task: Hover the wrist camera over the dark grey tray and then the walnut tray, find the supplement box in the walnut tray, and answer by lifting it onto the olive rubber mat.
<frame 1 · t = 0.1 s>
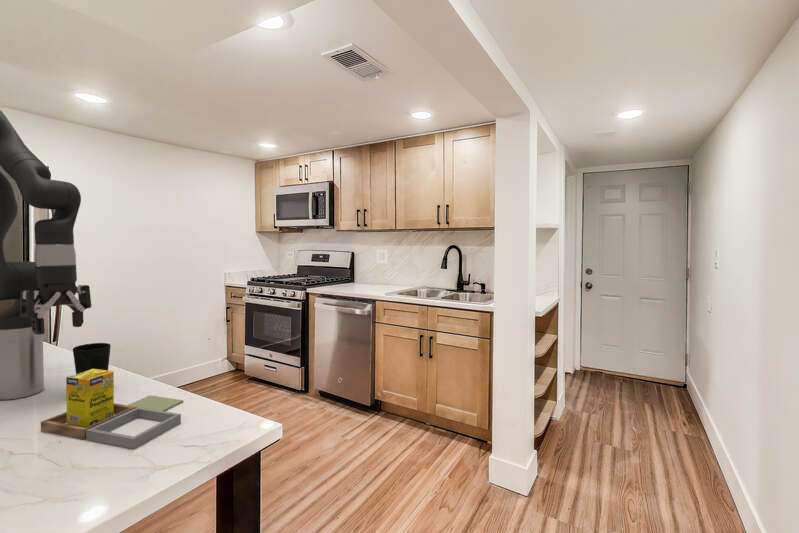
hand: (59, 330, 96), 17 cm above the counter, tool pointing down, fingers open, 8 cm apart
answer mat: (152, 406, 95), on the counter
grey tray: (136, 431, 83), on the counter
cup: (92, 393, 102), on the counter
supplement box: (91, 424, 85), resting in walnut tray
walnut tray: (91, 422, 85), on the counter
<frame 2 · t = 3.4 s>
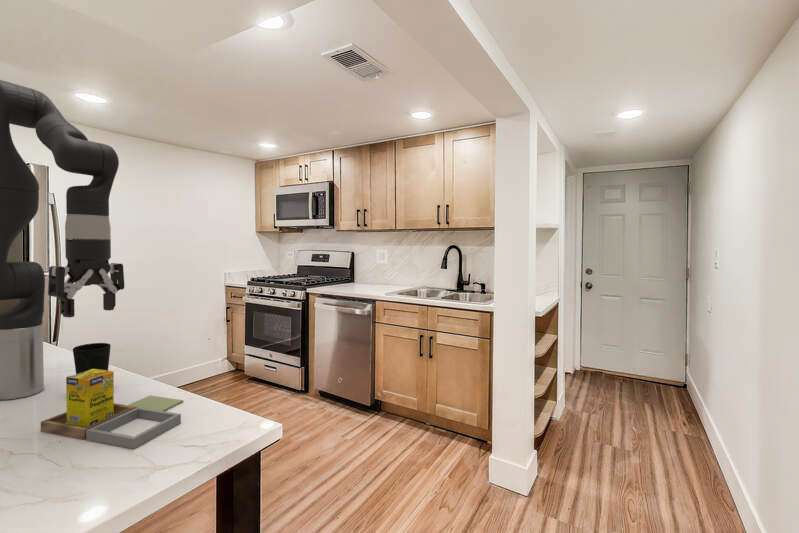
hand: (89, 313, 84), 24 cm above the counter, tool pointing down, fingers open, 8 cm apart
nothing on the counter moved.
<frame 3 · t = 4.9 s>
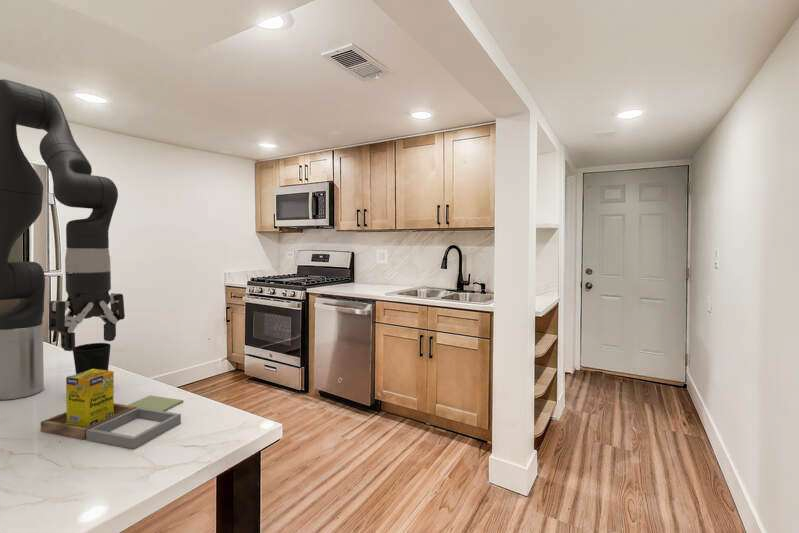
hand: (90, 345, 84), 17 cm above the counter, tool pointing down, fingers open, 8 cm apart
nothing on the counter moved.
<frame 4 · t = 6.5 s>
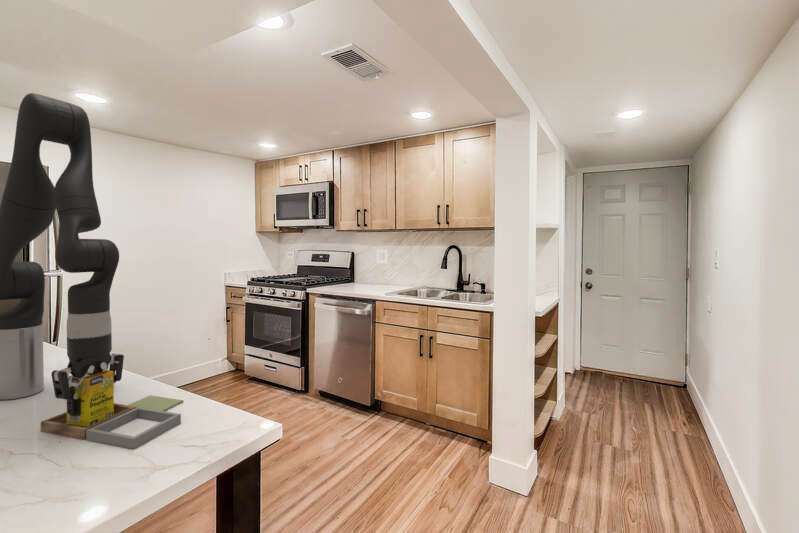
hand: (90, 408, 85), 3 cm above the counter, tool pointing down, fingers closed on supplement box, 6 cm apart
supplement box: (91, 423, 85), resting in walnut tray, touching gripper
everything else where it was.
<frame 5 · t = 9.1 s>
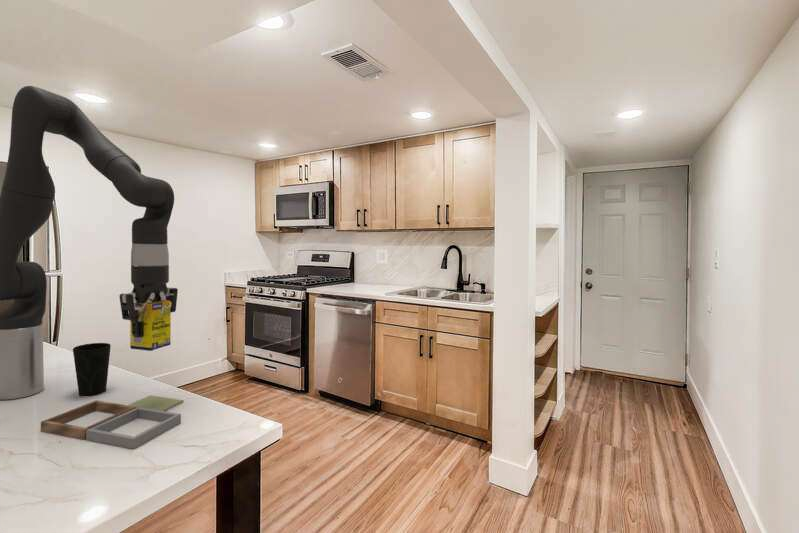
hand: (150, 333, 93), 18 cm above the counter, tool pointing down, fingers closed on supplement box, 6 cm apart
supplement box: (151, 347, 94), point 14 cm above the counter, touching gripper
everything else where it was.
when the fingers open (5 cm above the counter, at t = 12.0 s): supplement box drops 1 cm, resting on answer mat.
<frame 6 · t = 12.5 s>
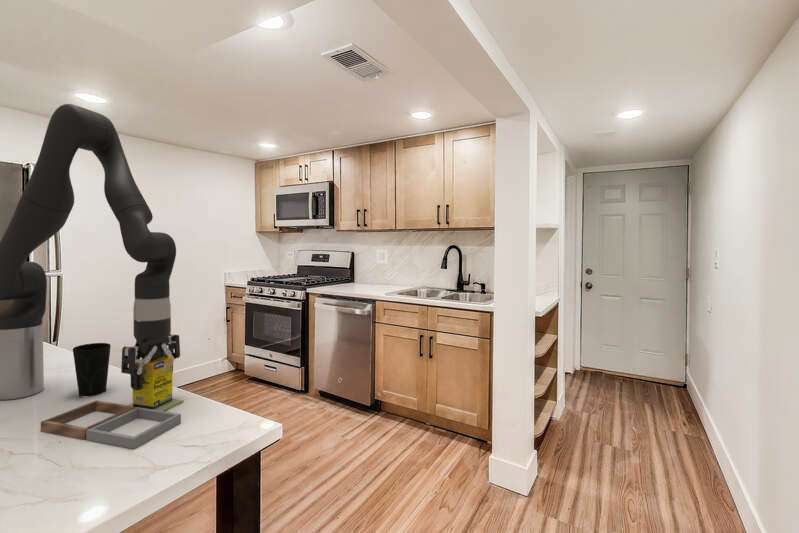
hand: (152, 383, 95), 6 cm above the counter, tool pointing down, fingers open, 8 cm apart
supplement box: (153, 404, 95), resting on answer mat
everything else where it was.
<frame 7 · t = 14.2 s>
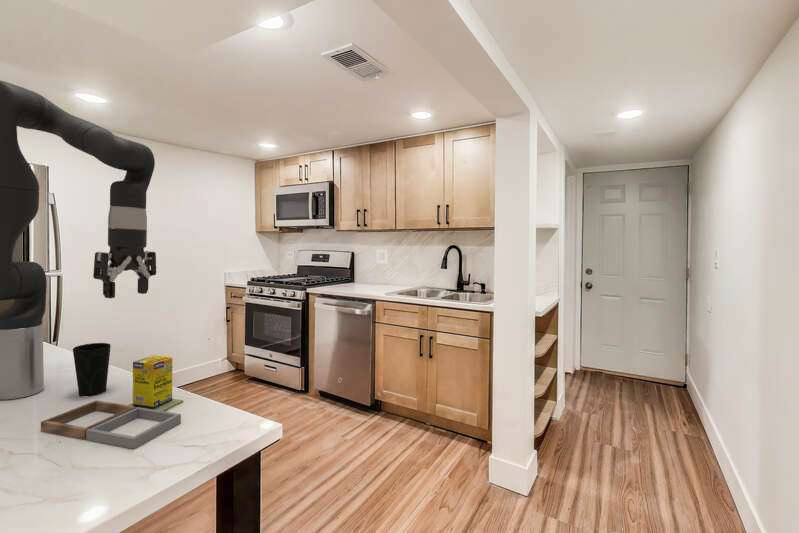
hand: (126, 295, 94), 27 cm above the counter, tool pointing down, fingers open, 8 cm apart
nothing on the counter moved.
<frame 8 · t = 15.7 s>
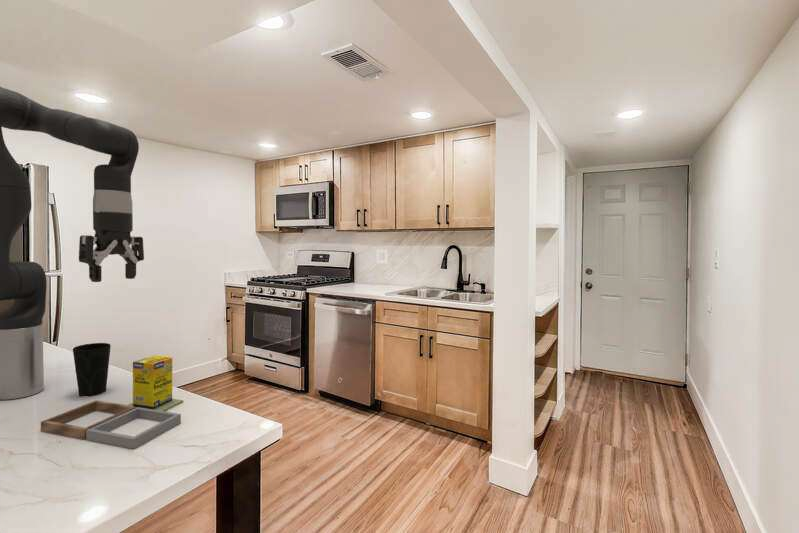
hand: (113, 280, 93), 30 cm above the counter, tool pointing down, fingers open, 8 cm apart
nothing on the counter moved.
at the end: supplement box 0.1 cm off-centre on the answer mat, point 0.3 cm above the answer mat's base; supplement box tilted 0°; the gripper is holding nothing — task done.
